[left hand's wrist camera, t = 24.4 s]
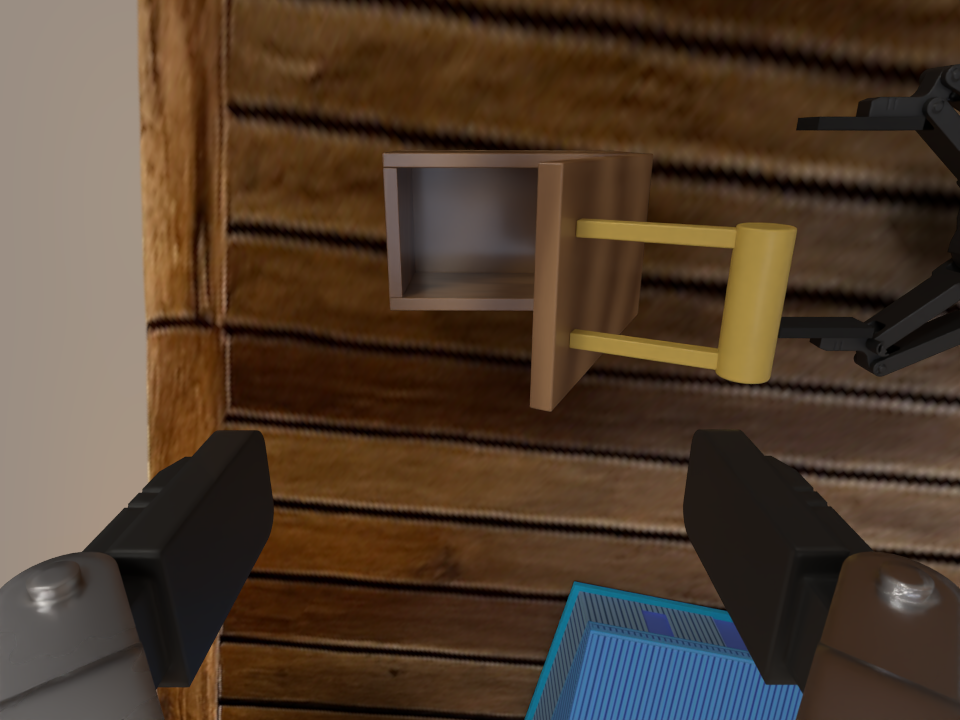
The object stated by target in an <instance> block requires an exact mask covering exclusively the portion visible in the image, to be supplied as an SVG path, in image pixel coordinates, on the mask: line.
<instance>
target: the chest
mask: <svg viewBox="0 0 960 720" xmlns="http://www.w3.org/2000/svg"><path fill="white" fill-rule="evenodd" d="M628 154H641V153H630V152H619V151H532V150H399V151H392V152H385V153H383V154H382V156H383V167H384V168H383V177H384V197H385V217H386V237H387V257H388V276H389V296H390V310H439V311H533V304H534V275H535V246H536V217H537V188H538V164H539V162H546V161H558V160H569V159H581V158H593V157H604V156H616V155H628Z"/></svg>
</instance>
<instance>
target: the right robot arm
mask: <svg viewBox="0 0 960 720" xmlns="http://www.w3.org/2000/svg"><path fill="white" fill-rule="evenodd" d="M919 84H920V86H919V88H918V90H917V91H916V92H915V93H914V94H913V95H912V96H911V97H877V98H867V99H865V100H862V101H860V102H859V104H858V109H857V114H856V117H808V118H798V123H797V129H796V130H916V132H917V133H918V134H919V135H920V136H921V137H922V139H923V140H924V141H925V142H926V143H927V144H928V146H929V147H930V148H931V149H932V150H933V151H934V152H935V154H936V155H937V156H938V157H939V158H940V159H941V161H942V162H943V163H944V164H945V165H946V166H947V168H948V169H949V170H950V171H951V172H952V173H953V174H954V176H955V177H956V178H957V179H958V181H957V182H956V183H957V185H958V186H959V187H960V116H959V115H958V113H957V112H956V111H955V110H954V109H953V108H955V109H956V110H958V111H960V64H958V65H950V66H944V67H937V68H931V69H927V70H925V71H924V72H923V73H922V74H921V76H920V78H919ZM948 252H950V253H952V258H951V259H949V260H948V261H947V262H945V263H944V264H942V265H941V266H939V267H938V268H936V269H935V270H934V271H933V272H932V276H931V277H930V278H929V279H927V280H926V281H924V282H923V283H921V284H920V285H918V286H917V287H915V288H914V289H912V290H911V291H910V292H908V293H907V294H905V295H904V296H902V297H901V298H899V299H898V300H896V301H895V302H893V303H892V304H890V305H889V306H887V307H886V308H885V309H883V310H882V311H880V312H879V313H877V314H876V315H874V316H873V317H871V318H870V319H868V320H867V321H865V322H864V323H863V322H861V321H859V320H857V319H855V318H853V317H781V321H780V326H779V332H778V338H810V342H811V343H812V344H814V345H816V346H817V347H819V348H821V349H823V350H826V351H839V350H840V351H856V354H855V356H854V362H855V363H856V364H858V365H859V366H861V367H863V368H864V369H866V370H868V371H869V372H871V373H873V374H874V375H876V376H880V377H881V376H884V375H887V374H889V373H892V372H894V371H897V370H899V369H901V368H904V367H906V366H909V365H911V364H914V363H916V362H918V361H921V360H923V359H926V358H928V357H931V356H933V355H935V354H938V353H940V352H943V351H945V350H948V349H950V348H952V347H955V346H957V345H960V310H958V311H954V312H951V313H948V314H946V315H943V316H941V317H938V318H936V319H934V320H931V319H932V318H934V317H935V316H937V315H938V314H940V313H941V312H943V311H944V310H946V309H947V308H949V307H950V306H952V305H953V304H955V303H956V302H958V301H959V300H960V209H959V213H958V216H957V230H956V232H955V234H954V236H953V238H952V240H951V242H950V246H949V249H948ZM929 320H931V321H929ZM928 321H929V322H928ZM926 322H927V323H926Z"/></svg>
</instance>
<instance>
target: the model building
mask: <svg viewBox="0 0 960 720" xmlns="http://www.w3.org/2000/svg"><path fill="white" fill-rule="evenodd" d="M802 696H803V694H802V692H801V690H800V689H799V687H798V685H766V684H765V682H764V680H763V678H762V676H761V674H760V673H759V671H758V669H757V667H756V665H755V663H754V661H753V659H752V657H751V655H750V653H749V652H748V650H747V648H746V646H745V644H744V642H743V640H742V638H741V636H740V634H739V632H738V631H737V629H736V627H735V625H734V623H733V621H732V619H731V617H730V615H729V613H728V612H727V611H724V610H719V609H714V608H708V607H703V606H698V605H693V604H688V603H683V602H678V601H673V600H667V599H662V598H657V597H652V596H647V595H642V594H637V593H631V592H626V591H621V590H616V589H611V588H606V587H601V586H596V585H590V584H585V583H580V582H575V581H574V583H573V586H572V589H571V592H570V594H569V597H568V600H567V603H566V606H565V608H564V611H563V614H562V617H561V619H560V622H559V625H558V628H557V631H556V633H555V636H554V639H553V642H552V645H551V647H550V650H549V653H548V656H547V658H546V661H545V664H544V667H543V670H542V672H541V675H540V678H539V681H538V683H537V686H536V689H535V692H534V695H533V697H532V700H531V703H530V706H529V709H528V711H527V714H526V717H525V720H796V716H797V713H798V709H799V706H800V703H801V699H802Z"/></svg>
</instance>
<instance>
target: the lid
mask: <svg viewBox="0 0 960 720" xmlns="http://www.w3.org/2000/svg"><path fill="white" fill-rule="evenodd" d="M652 162H653V154H628V155H616V156H604V157H593V158H581V159H569V160H558V161H546V162H539V164H538V188H537V217H536V246H535V275H534V304H533V332H532V361H531V390H530V407H531V408H535V409H540V410H545V411H552V410H553V409H554V408H555V407H556V406H557V404H558V403H559V402H560V401H561V400H562V399H563V398H564V397H565V395H566V394H567V393H568V392H569V391H570V390H571V389H572V388H573V386H574V385H575V384H576V383H577V382H578V381H579V380H580V378H581V377H582V376H583V375H584V374H585V373H586V372H587V371H588V369H589V368H590V367H591V366H592V365H593V364H594V363H595V362H596V360H597V359H598V358H599V357H600V356H601V355H602V354H603V353H608V354H614V355H621V356H627V357H634V358H641V359H647V360H654V361H660V362H667V363H674V364H680V365H687V366H693V367H700V368H707V369H713V370H715V372H716V374H717V375H719V376H720V377H722V378H724V379H727V380H730V381H733V382H738V383H746V384H759V383H764V382H767V381H768V380H769V379H770V376H771V370H772V365H773V359H774V354H775V348H776V343H777V337H778V332H779V326H780V321H781V315H782V310H783V305H784V299H785V294H786V288H787V283H788V277H789V272H790V266H791V261H792V255H793V250H794V244H795V239H796V234H797V228H796V227H793V226H790V225H784V224H775V223H741V224H738V225H737V226H736V227H720V226H703V225H686V224H669V223H652V222H647V214H648V204H649V193H650V183H651V173H652ZM645 242H649V243H663V244H677V245H691V246H705V247H719V248H732V249H733V251H732V258H731V265H730V271H729V278H728V285H727V292H726V298H725V305H724V312H723V319H722V325H721V332H720V339H719V346H718V349H717V348H710V347H703V346H696V345H688V344H681V343H674V342H666V341H659V340H652V339H645V338H637V337H630V336H623V335H620V333H621V332H622V331H623V330H624V329H625V328H626V327H627V326H628V324H629V323H630V322H631V321H632V320H633V319H634V318H635V317H636V315H637V314H638V307H639V296H640V286H641V276H642V265H643V255H644V245H645Z"/></svg>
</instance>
